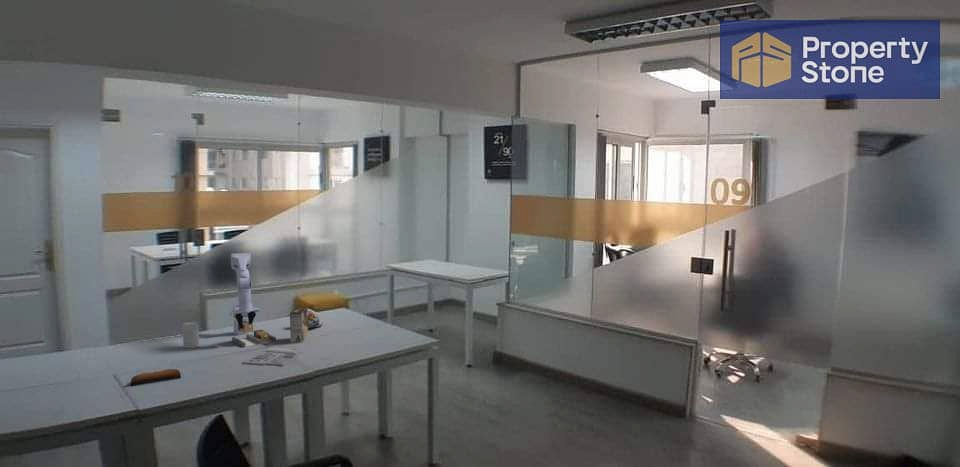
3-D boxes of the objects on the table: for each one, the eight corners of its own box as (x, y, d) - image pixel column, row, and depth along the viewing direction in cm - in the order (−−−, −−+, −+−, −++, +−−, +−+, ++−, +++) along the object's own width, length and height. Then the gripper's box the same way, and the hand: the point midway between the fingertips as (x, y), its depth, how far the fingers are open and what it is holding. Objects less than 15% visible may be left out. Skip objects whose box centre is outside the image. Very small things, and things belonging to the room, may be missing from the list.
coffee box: (296, 338, 298) (295, 308, 297) (308, 338, 298) (307, 308, 297) (290, 343, 289) (289, 312, 288) (302, 343, 289) (302, 312, 287)
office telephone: (270, 345, 279) (307, 348, 275) (270, 350, 280) (307, 353, 275) (242, 359, 257) (281, 362, 253) (242, 364, 257) (282, 368, 253)
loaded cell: (253, 338, 295) (253, 330, 295) (261, 337, 298) (261, 329, 298) (261, 342, 288) (261, 334, 288) (269, 340, 291) (269, 333, 291)
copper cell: (238, 329, 289) (237, 322, 289) (246, 328, 292) (245, 320, 292) (245, 333, 282) (245, 325, 282) (253, 332, 285) (253, 324, 285)
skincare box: (199, 345, 283) (198, 322, 282) (194, 348, 279) (193, 324, 278) (188, 345, 284) (187, 322, 283) (182, 347, 280) (182, 324, 279)
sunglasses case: (178, 372, 244) (179, 361, 241) (180, 384, 240) (181, 373, 236) (129, 380, 234) (129, 369, 231) (131, 393, 230) (130, 382, 226)
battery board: (231, 342, 290) (231, 337, 290) (263, 336, 302) (263, 331, 302) (243, 348, 280) (243, 343, 279) (275, 342, 291) (275, 337, 291)
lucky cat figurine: (327, 325, 326) (326, 307, 318) (313, 337, 317) (311, 319, 309) (307, 315, 331) (305, 297, 323) (292, 327, 321) (290, 309, 314)
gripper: (233, 304, 278) (234, 331, 279) (262, 300, 288) (263, 326, 289) (227, 302, 283) (228, 328, 284) (256, 298, 293) (257, 323, 294)
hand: (245, 327), depth 287 cm, fingers closed on copper cell, 4 cm apart
